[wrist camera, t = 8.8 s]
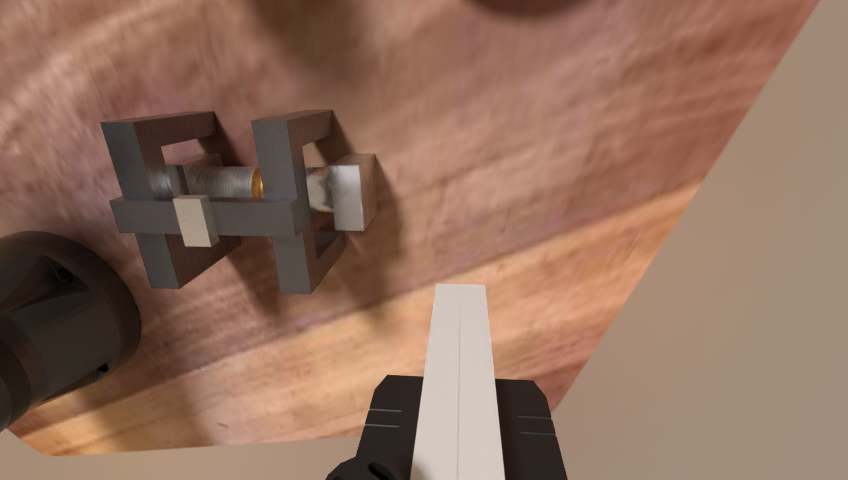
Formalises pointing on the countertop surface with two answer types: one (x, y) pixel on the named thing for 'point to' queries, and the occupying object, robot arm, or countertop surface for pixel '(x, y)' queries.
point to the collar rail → (221, 200)
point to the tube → (327, 186)
